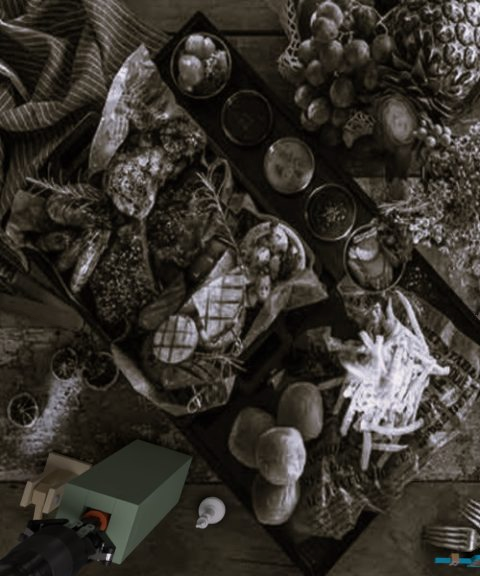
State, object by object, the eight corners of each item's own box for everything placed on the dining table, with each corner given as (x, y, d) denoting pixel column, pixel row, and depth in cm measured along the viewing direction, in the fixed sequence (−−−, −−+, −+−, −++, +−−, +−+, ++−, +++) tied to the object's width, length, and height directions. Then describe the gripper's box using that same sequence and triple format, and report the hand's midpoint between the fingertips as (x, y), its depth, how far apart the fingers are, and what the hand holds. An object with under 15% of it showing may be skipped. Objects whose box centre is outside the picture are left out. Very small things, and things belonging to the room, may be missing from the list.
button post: (122, 484, 144) (47, 542, 111) (137, 439, 144) (66, 482, 111) (178, 502, 144) (119, 564, 111) (192, 456, 144) (138, 505, 111)
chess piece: (195, 501, 144) (182, 517, 134) (220, 493, 144) (209, 508, 134) (203, 526, 144) (190, 543, 134) (228, 518, 144) (217, 535, 134)
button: (86, 524, 114) (78, 531, 111) (93, 501, 114) (85, 507, 111) (109, 532, 114) (102, 538, 111) (116, 509, 114) (109, 514, 111)
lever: (49, 544, 138) (42, 552, 136) (22, 535, 138) (15, 544, 136) (60, 488, 134) (53, 496, 132) (33, 480, 134) (25, 487, 132)
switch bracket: (78, 509, 144) (51, 529, 132) (37, 497, 143) (7, 515, 132) (92, 464, 144) (67, 479, 132) (52, 451, 144) (23, 465, 132)
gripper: (102, 552, 94) (145, 512, 111) (-1, 520, 94) (58, 484, 111) (83, 611, 94) (129, 561, 111) (-20, 578, 94) (42, 534, 111)
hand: (93, 523), depth 111 cm, fingers closed
